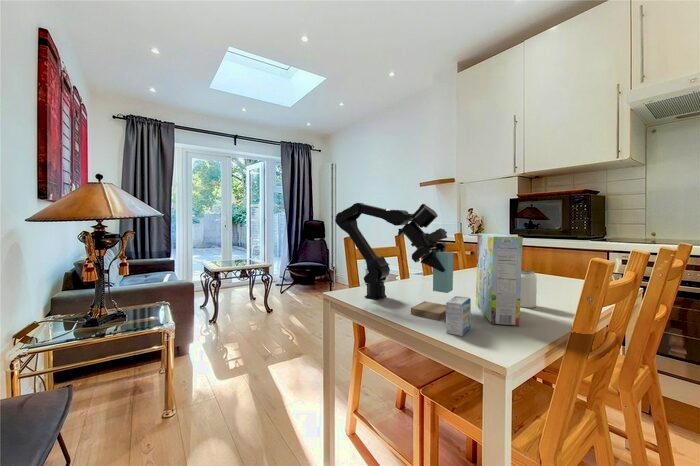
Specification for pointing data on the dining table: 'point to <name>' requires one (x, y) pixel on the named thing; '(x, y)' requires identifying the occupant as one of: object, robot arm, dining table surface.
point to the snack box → (499, 277)
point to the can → (528, 289)
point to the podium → (429, 310)
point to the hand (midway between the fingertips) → (447, 270)
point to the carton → (443, 273)
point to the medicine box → (458, 315)
